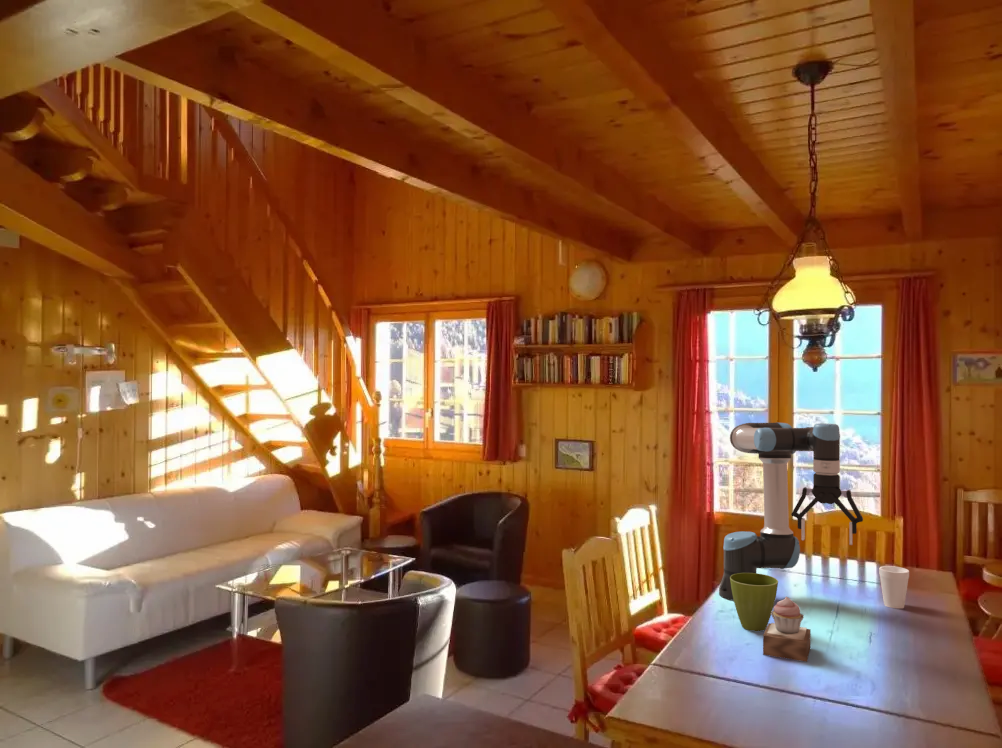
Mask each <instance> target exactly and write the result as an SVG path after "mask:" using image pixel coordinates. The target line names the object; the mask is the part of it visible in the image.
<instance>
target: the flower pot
mask: <svg viewBox="0 0 1002 748" xmlns="http://www.w3.org/2000/svg"><path fill="white" fill-rule="evenodd" d="M730 582H731V589H732V594H733V599H734V600H733V602H734V607H735V610H736V613H737V617H738V619H739V622H740V624H741V627H742V628H743V629H744V630H747V631H750V632H763V630H764V631H765V630H766V628H767V626H768V624H769V623H770V619H771V617H772V615H771V613H772V612H771V611H774V606H775V603H776V597H777V593H778V584H779V579H777V578H775V577H773V576H771V575H768V574H764V573H763V574H762V573H757V572H756V573H737V574H733V575H731V576H730Z"/></svg>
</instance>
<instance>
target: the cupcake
mask: <svg viewBox="0 0 1002 748" xmlns="http://www.w3.org/2000/svg"><path fill="white" fill-rule="evenodd" d="M771 612H772V613H771V617H772V618H773V621H774V622H773V623H775V626H776V629H777V630H778V631H780V632H783V633H797V632H798V631H799V628H800V627H801V623H802V621H803V619H804V615H805V614H802V613H801V608H800V607H799V605H798V604H797V603H796V602H794V601H793V600H792V599H791V598H789V597H788V596H785V598H784V599H782V600H780V601H777V602H776V604H774V607H773V610H772V611H771Z"/></svg>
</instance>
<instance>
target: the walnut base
mask: <svg viewBox="0 0 1002 748" xmlns="http://www.w3.org/2000/svg"><path fill="white" fill-rule="evenodd" d="M811 638H812V637H811V629H810V628H807V627H804V626H800V628H799V631H798V632H797V633H783V632H780V631H778V630H777V629H776V626H775V622H771V623H770V622H768V625H767V627H766V629H765V630H764V633H763V635H762V655H763V656H768V655H770V656H769V657H774V656H775V657H776V658H780V657H781V658H780V659H786V658H787V659H786V660H788V659H789V660H794V661H799V662H806V663H807V662H808V659H809V656H810V652H811V649H812V648H811V647H812V645H811V644H812V643H811V641H812V640H811ZM810 648H811V649H810ZM775 657H774V658H775Z"/></svg>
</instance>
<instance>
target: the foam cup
mask: <svg viewBox="0 0 1002 748" xmlns="http://www.w3.org/2000/svg"><path fill="white" fill-rule="evenodd" d="M878 575H879V580H880V586H881V592H882V598H883V600H882V601H883V605H884V606H885V607H888V608H891V609H897V610H898V609H904V608H905V604H906V598H907V591H908V584H909V579H910V570H909V569H907V568H905V567H900V566H894V565H893V566H892V565H881V566H880V567H879V568H878Z"/></svg>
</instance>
